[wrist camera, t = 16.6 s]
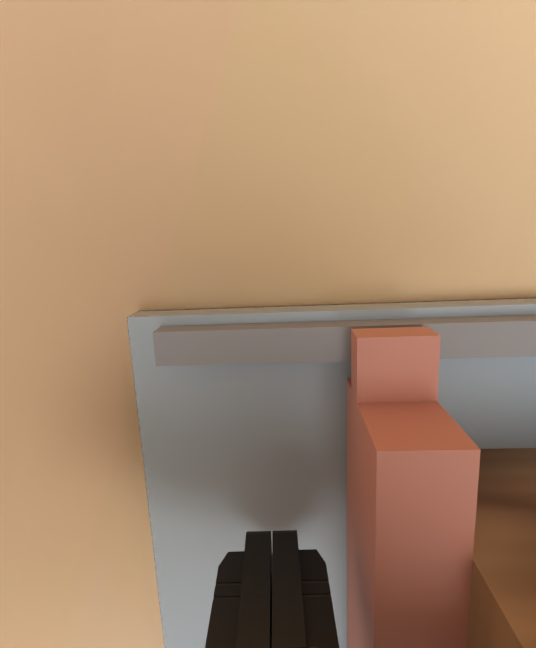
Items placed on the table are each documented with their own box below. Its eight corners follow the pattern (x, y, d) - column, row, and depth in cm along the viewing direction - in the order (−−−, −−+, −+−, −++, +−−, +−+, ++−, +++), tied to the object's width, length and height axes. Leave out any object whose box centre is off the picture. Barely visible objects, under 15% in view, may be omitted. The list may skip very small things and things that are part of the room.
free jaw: (347, 689, 15) (370, 868, 11) (346, 321, 12) (378, 368, 8) (404, 690, 15) (450, 871, 11) (416, 319, 12) (486, 366, 8)
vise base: (176, 661, 17) (122, 867, 11) (138, 311, 14) (41, 362, 8) (599, 665, 16) (761, 891, 10) (656, 293, 13) (925, 338, 7)
